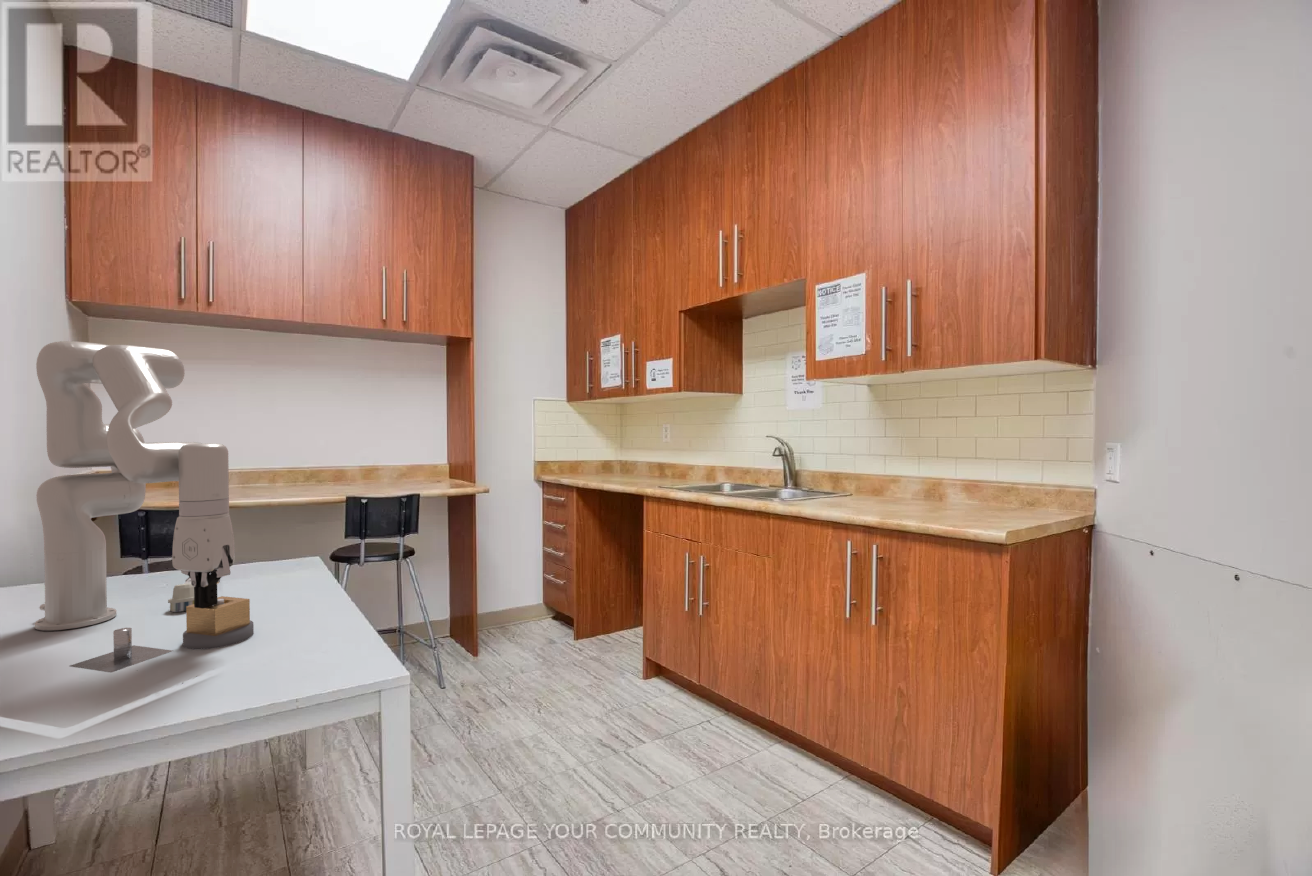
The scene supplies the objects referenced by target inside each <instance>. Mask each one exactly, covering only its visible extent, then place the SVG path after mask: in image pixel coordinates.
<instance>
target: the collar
mask: <svg viewBox="0 0 1312 876" xmlns="http://www.w3.org/2000/svg"><path fill="white" fill-rule="evenodd" d="M217 599H224V604H222V605H218V606H209V607H205V608H195V607H194V604H193V605H189V606H186V611H185V612H186V616H185V617H186V618H185V619H186V623H185V624H186V630H187V633H194V634H202V635H211V636H217V635H220V634H223V633H226V632H229V631H231V630H234V629H237V628H240V627H243V626H246V625H249V624H250V619H251V614H250V609H251V607H250V606H251V605H250V603H251V602H250V598H243V597H234V596H233V597H232V596H231V597H230V596H222V595H221V596H217Z"/></svg>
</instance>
